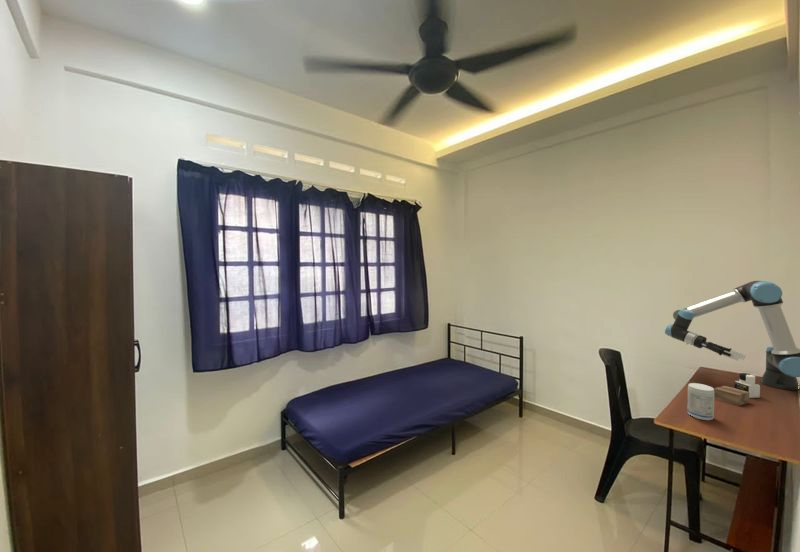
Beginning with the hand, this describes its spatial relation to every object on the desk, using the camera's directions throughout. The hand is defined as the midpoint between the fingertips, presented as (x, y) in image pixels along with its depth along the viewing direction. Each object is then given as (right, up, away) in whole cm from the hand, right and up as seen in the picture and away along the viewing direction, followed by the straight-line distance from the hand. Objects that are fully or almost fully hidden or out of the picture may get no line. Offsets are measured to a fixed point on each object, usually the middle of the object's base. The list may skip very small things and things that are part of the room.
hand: (741, 358), depth 185 cm
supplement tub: (-49, -22, -27) cm, 60 cm away
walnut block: (-16, -21, -10) cm, 28 cm away
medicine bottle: (-1, -20, -3) cm, 21 cm away
